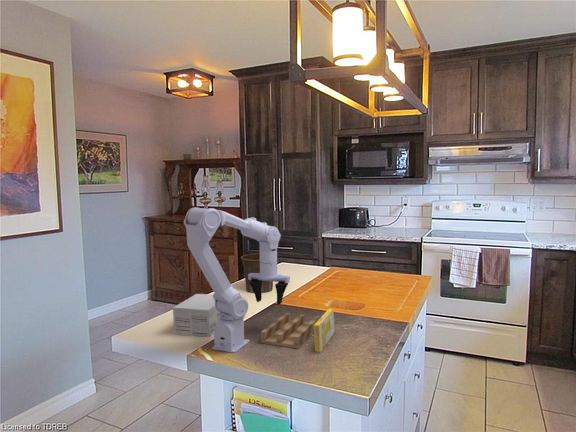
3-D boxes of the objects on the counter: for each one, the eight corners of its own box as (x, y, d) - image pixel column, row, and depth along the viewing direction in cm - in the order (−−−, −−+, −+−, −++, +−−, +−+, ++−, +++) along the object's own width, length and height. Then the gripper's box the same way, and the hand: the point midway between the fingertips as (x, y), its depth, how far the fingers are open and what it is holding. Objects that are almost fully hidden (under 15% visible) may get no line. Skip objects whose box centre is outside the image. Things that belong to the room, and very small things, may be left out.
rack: (298, 348, 119) (298, 337, 119) (260, 342, 124) (260, 331, 124) (319, 326, 138) (319, 316, 137) (286, 322, 143) (286, 312, 142)
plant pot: (268, 296, 176) (267, 260, 174) (235, 293, 181) (234, 258, 180) (281, 287, 191) (281, 254, 190) (251, 285, 196) (250, 252, 195)
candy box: (328, 332, 132) (328, 308, 132) (335, 333, 132) (334, 308, 131) (313, 351, 117) (313, 324, 117) (320, 352, 117) (320, 325, 116)
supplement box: (196, 317, 150) (195, 293, 149) (229, 320, 146) (228, 295, 146) (173, 334, 133) (171, 306, 133) (209, 337, 130) (208, 309, 129)
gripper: (293, 261, 133) (293, 301, 134) (255, 258, 139) (255, 297, 140) (284, 265, 127) (285, 307, 128) (244, 262, 132) (245, 302, 133)
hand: (269, 302), depth 133 cm, fingers open, 7 cm apart
